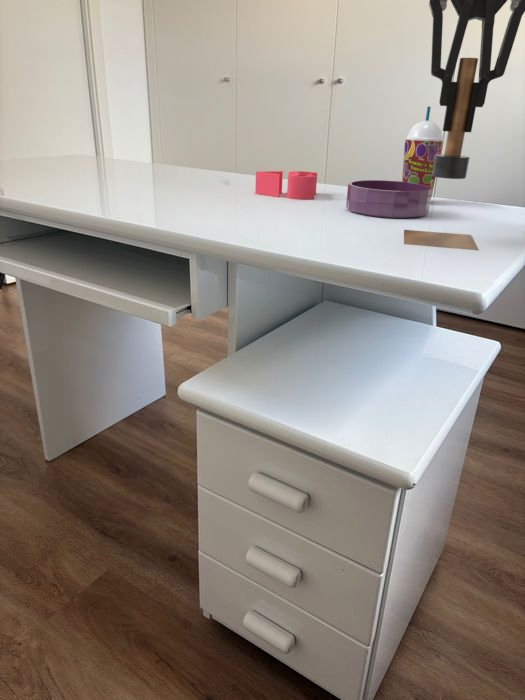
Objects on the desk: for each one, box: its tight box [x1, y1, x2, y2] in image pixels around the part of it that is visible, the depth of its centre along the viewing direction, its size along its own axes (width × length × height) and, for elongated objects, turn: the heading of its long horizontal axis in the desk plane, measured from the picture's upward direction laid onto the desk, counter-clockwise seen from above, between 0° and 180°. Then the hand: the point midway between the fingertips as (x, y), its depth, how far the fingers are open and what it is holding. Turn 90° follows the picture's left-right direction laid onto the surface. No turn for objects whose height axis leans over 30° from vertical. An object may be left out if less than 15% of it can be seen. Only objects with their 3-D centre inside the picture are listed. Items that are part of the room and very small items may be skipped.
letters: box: [254, 170, 318, 200], centre depth 126 cm, size 14×10×5 cm
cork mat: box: [403, 229, 480, 251], centre depth 86 cm, size 11×11×1 cm
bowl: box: [345, 179, 433, 219], centre depth 107 cm, size 16×16×6 cm
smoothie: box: [401, 106, 445, 197], centre depth 119 cm, size 8×8×20 cm
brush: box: [432, 57, 479, 180], centre depth 79 cm, size 5×5×16 cm
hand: (456, 131), depth 79 cm, fingers closed on brush, 2 cm apart
